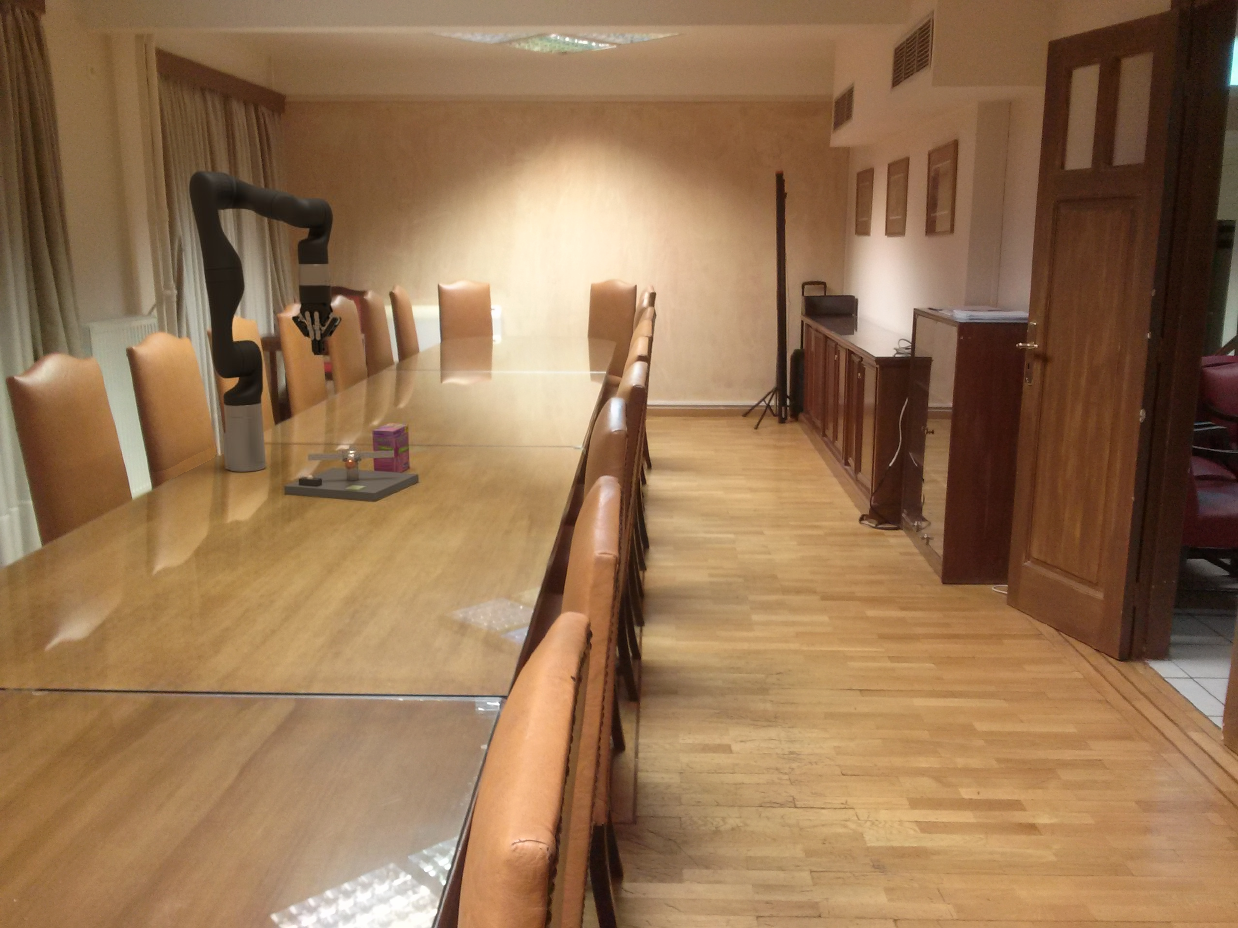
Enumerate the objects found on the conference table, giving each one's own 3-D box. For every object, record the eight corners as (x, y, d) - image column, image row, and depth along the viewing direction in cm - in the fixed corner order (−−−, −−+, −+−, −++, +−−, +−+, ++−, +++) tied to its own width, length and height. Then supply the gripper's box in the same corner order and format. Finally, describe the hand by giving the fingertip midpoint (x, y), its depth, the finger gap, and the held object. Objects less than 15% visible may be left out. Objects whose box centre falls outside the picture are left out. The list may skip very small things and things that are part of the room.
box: (394, 476, 273) (392, 430, 270) (373, 475, 274) (371, 429, 271) (410, 468, 283) (408, 423, 280) (390, 467, 284) (388, 423, 281)
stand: (284, 494, 254) (282, 467, 253) (333, 475, 274) (332, 450, 273) (375, 501, 247) (373, 473, 246) (418, 481, 267) (417, 456, 266)
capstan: (311, 453, 267) (310, 444, 266) (393, 450, 271) (393, 441, 270) (305, 472, 246) (304, 462, 245) (394, 468, 250) (394, 458, 249)
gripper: (281, 283, 259) (286, 355, 263) (330, 284, 255) (334, 357, 259) (299, 282, 266) (304, 352, 270) (347, 283, 262) (350, 354, 266)
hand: (318, 354), depth 264 cm, fingers closed
